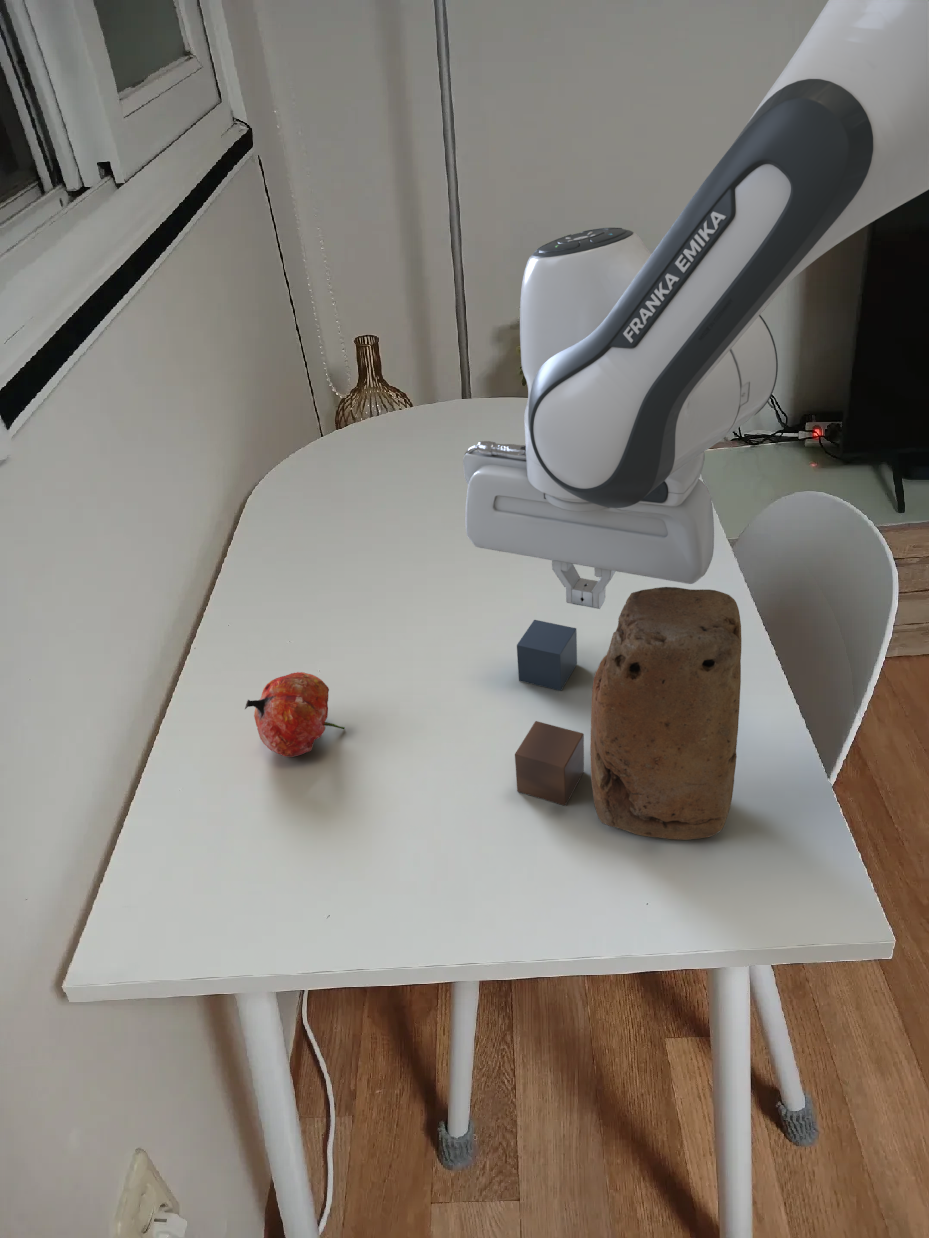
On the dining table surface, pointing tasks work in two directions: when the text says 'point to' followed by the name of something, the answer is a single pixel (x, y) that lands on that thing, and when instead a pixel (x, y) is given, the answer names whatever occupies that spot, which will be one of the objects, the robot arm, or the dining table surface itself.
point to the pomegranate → (292, 713)
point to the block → (668, 714)
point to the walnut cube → (550, 762)
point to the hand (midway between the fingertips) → (585, 602)
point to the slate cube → (547, 654)
